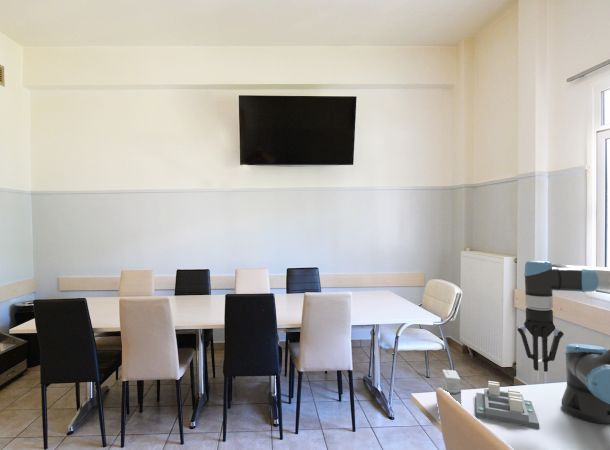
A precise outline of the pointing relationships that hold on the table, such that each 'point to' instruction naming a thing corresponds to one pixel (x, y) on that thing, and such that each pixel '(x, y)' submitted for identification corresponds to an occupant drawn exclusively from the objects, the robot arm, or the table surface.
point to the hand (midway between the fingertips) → (540, 380)
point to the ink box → (452, 384)
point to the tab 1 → (494, 388)
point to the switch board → (504, 409)
